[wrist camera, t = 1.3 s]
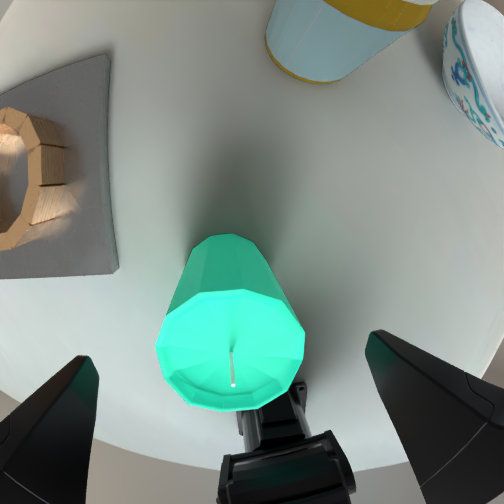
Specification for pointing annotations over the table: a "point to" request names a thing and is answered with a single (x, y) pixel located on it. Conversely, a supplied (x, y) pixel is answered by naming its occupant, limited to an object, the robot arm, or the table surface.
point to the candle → (229, 329)
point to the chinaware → (476, 66)
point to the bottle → (336, 34)
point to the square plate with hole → (57, 175)
